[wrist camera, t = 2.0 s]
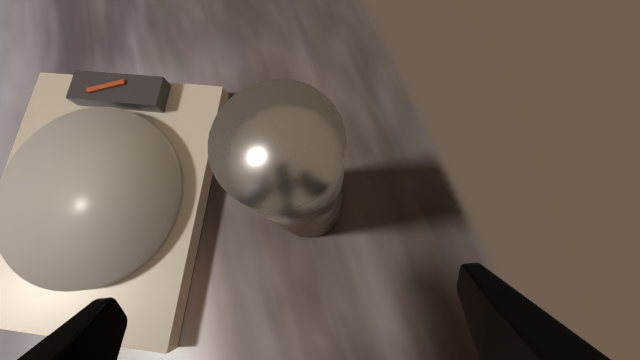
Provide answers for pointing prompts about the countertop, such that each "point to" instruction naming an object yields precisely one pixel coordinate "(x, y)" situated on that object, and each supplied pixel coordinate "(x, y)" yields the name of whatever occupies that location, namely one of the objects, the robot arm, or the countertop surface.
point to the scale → (106, 202)
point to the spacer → (281, 154)
